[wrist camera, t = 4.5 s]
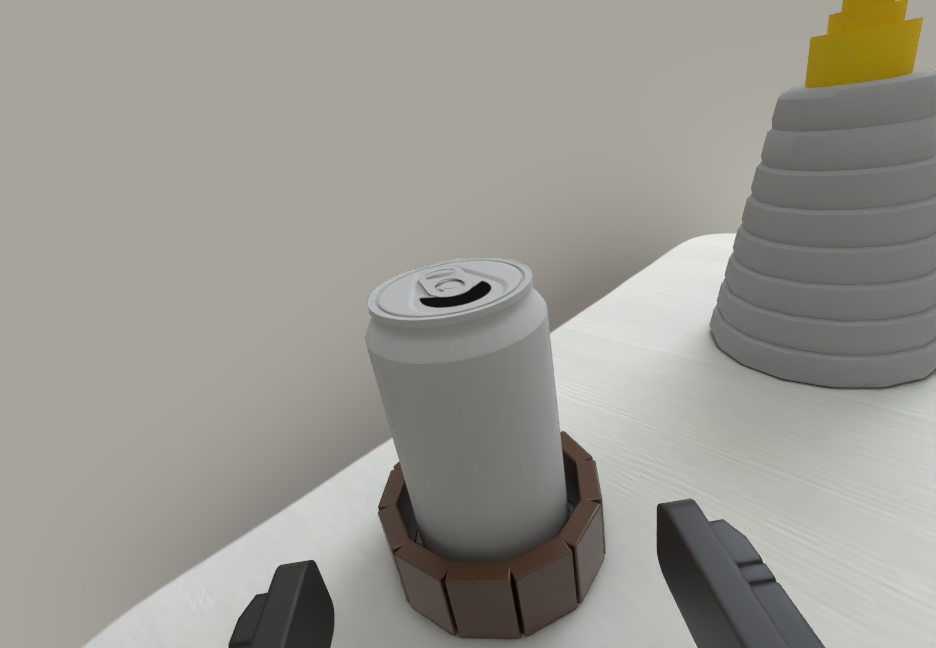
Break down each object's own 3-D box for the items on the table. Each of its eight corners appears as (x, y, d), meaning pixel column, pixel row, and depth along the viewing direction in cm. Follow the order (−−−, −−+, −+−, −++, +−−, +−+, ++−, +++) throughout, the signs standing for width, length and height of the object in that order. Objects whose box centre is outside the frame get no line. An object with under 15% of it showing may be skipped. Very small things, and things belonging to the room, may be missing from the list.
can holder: (370, 636, 18) (349, 582, 17) (419, 468, 26) (407, 422, 25) (620, 640, 17) (616, 581, 15) (589, 459, 25) (586, 411, 23)
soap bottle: (1017, 376, 25) (1201, -132, 16) (762, 401, 26) (811, -53, 18) (856, 288, 36) (916, -40, 28) (683, 310, 38) (691, 4, 29)
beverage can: (450, 631, 18) (370, 344, 13) (411, 510, 23) (345, 279, 18) (601, 563, 19) (581, 282, 14) (530, 465, 25) (498, 240, 20)
